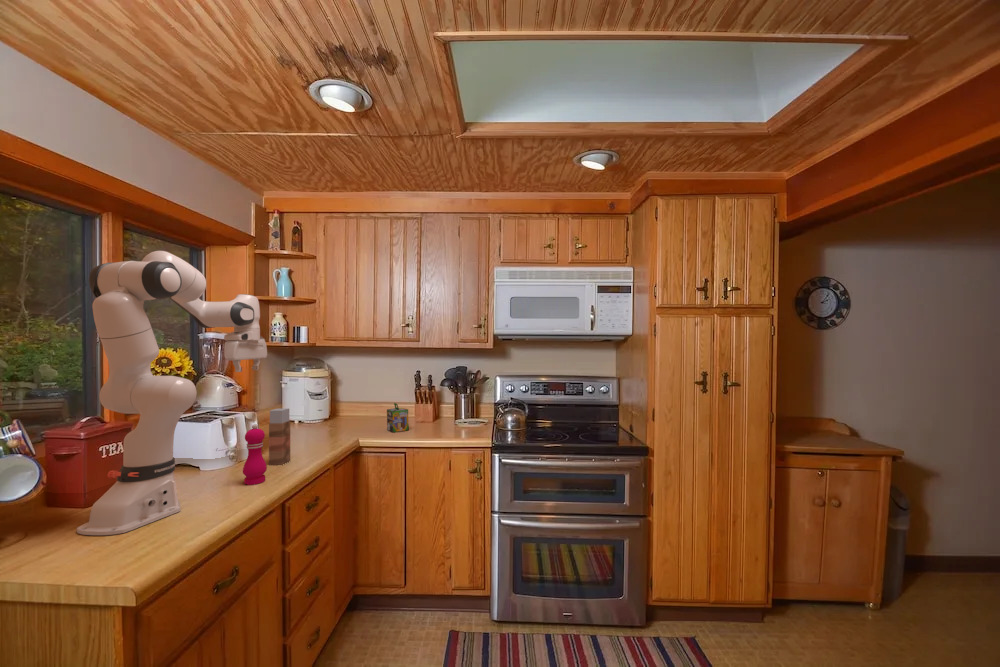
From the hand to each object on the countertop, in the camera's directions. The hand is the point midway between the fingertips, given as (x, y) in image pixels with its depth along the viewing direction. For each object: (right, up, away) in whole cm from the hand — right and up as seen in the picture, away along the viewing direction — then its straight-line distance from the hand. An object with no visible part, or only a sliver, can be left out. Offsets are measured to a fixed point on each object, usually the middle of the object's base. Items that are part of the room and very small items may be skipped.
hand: (247, 371), depth 166 cm
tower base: (+12, -37, +2) cm, 39 cm away
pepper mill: (+15, -37, -20) cm, 44 cm away
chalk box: (+44, -38, +63) cm, 86 cm away
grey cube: (+11, -21, +3) cm, 24 cm away
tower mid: (+12, -32, +3) cm, 34 cm away
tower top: (+11, -26, +3) cm, 29 cm away
